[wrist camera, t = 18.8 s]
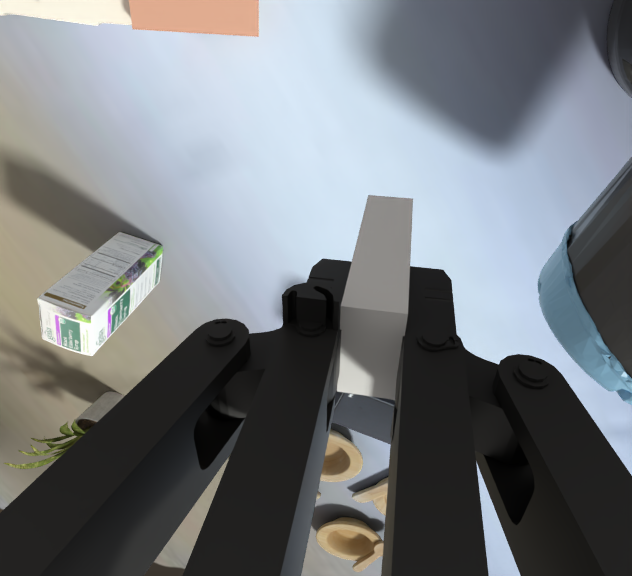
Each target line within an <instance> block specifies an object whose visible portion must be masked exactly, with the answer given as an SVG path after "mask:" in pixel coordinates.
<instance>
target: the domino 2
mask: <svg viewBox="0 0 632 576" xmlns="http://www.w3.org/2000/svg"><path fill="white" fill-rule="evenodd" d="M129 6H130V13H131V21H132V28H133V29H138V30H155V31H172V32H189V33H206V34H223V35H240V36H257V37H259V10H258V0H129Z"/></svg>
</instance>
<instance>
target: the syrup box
mask: <svg viewBox="0 0 632 576" xmlns="http://www.w3.org/2000/svg"><path fill="white" fill-rule="evenodd" d="M162 251H163V247H162V246H161V245H158V244H156V243H153V242H150V241H147V240H144V239H140V238H138V237H134V236H131V235H128V234H125V233H122V232H118V233H117V234H116V235H114V236H113V237H112V238H111V239H110V240H108V241H107V242H106V243H105V244H103V245H102V246H101V247H100V248H98V249H97V250H96V251H95V252H94V253H92V254H91V255H90V256H88V257H87V258H86V259H85V260H84V261H82V262H81V263H80V264H79V265H77V266H76V267H75V268H74V269H72V270H71V271H70V272H69V273H67V274H66V275H65V276H64V277H63V278H61V279H60V280H59V281H58V282H57V283H55V284H54V285H53V286H52V287H50V288H49V289H48V290H47V291H45V292H44V293H43V294H42V295H40V296H39V297H38V298H37V300H38V303H39V315H40V325H41V333H42V338H43V339H44V340H46V341H48V342H51V343H53V344H55V345H57V346H60V347H62V348H65V349H68V350H71V351H74V352H77V353H81V354H85V355H89V356H93V355H94V354H95V353H96V351H97V350H98V349H99V348H100V347H101V346H102V345H103V344H104V343H105V341H106V340H107V339H108V338H109V337H110V336H111V335H112V334H113V333H114V331H115V330H116V329H117V328H118V327H119V326H120V325H121V324H122V323H123V322H124V321H125V319H126V318H127V317H128V316H129V315H130V314H131V313H132V312H133V311H134V310H135V308H136V307H137V306H138V305H139V304H140V303H141V302H142V301H143V300H144V298H145V297H146V296H147V295H148V294H149V293H150V292H151V291H152V289H153V288H154V287H155V286H156V285H157V284H158V283H159V281H160V273H161V264H162Z"/></svg>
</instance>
